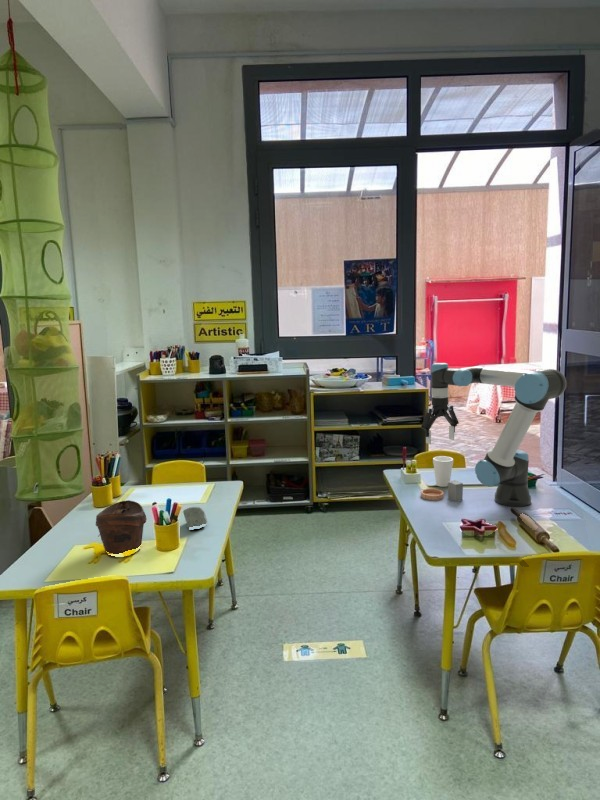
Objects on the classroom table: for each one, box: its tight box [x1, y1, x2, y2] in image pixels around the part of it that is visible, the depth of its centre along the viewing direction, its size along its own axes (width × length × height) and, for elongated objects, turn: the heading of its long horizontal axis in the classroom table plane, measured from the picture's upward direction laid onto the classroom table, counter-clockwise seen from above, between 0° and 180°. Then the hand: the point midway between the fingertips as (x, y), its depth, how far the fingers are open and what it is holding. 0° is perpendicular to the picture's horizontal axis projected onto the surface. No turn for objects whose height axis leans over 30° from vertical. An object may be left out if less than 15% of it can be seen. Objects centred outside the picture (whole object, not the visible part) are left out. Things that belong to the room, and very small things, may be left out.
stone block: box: [447, 479, 464, 503], centre depth 250 cm, size 5×4×8 cm
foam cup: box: [432, 455, 454, 488], centre depth 270 cm, size 10×9×13 cm
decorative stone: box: [182, 506, 208, 528], centre depth 229 cm, size 13×11×10 cm
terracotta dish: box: [420, 487, 445, 501], centre depth 255 cm, size 10×10×2 cm
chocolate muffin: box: [95, 499, 148, 559], centre depth 207 cm, size 18×20×18 cm
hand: (440, 441), depth 260 cm, fingers open, 13 cm apart
